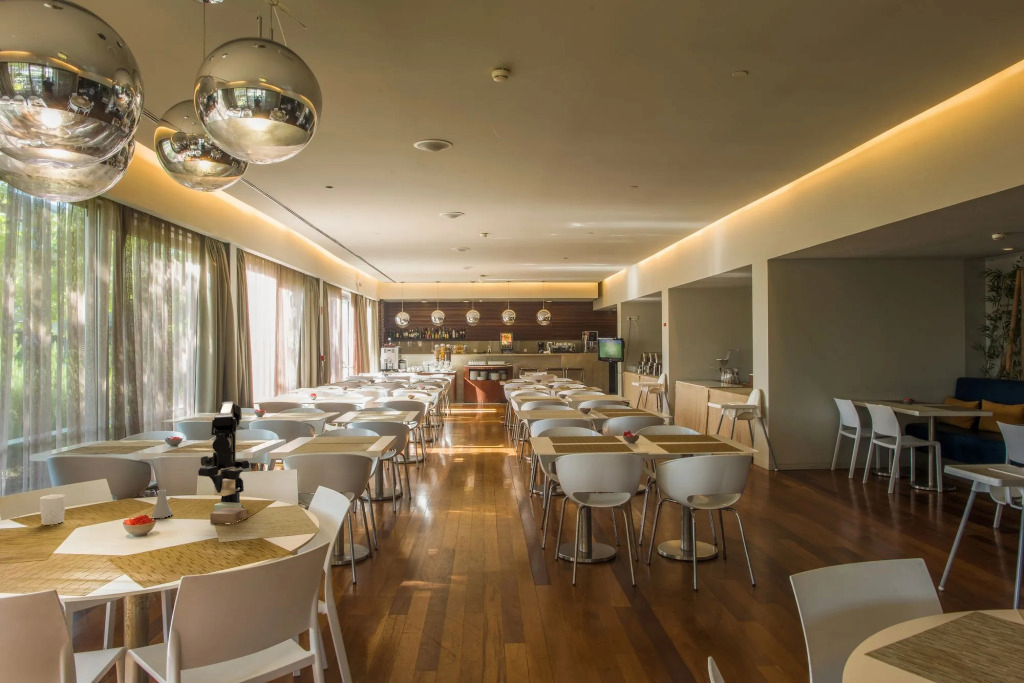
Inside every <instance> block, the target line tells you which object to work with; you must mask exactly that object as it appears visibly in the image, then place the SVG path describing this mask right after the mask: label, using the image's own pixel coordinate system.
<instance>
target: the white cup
mask: <svg viewBox="0 0 1024 683" xmlns="http://www.w3.org/2000/svg"><path fill="white" fill-rule="evenodd" d="M39 510H40V511H39V512H40V518H41V525H42V524H55V523H60V522H63V521H64V522H65V512H66V494H64V493H57V494H56V493H55V494H54V493H53V494H47V495H44V496H40V497H39ZM64 522H63V523H64Z"/></svg>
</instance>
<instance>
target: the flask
mask: <svg viewBox="0 0 1024 683" xmlns="http://www.w3.org/2000/svg"><path fill="white" fill-rule="evenodd" d="M156 493H157V499H156V503H155V506H154V509H153V511H152V514H151V516H152V517H155V518H160V519H166V518H165V517H167V518H169V517H168V516H170V517H172V516H173V515H174V513H173V511H172V509H171V507H170V505H169V502H168V499H167V490H166V489H160V490H156ZM171 515H172V516H171Z"/></svg>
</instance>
